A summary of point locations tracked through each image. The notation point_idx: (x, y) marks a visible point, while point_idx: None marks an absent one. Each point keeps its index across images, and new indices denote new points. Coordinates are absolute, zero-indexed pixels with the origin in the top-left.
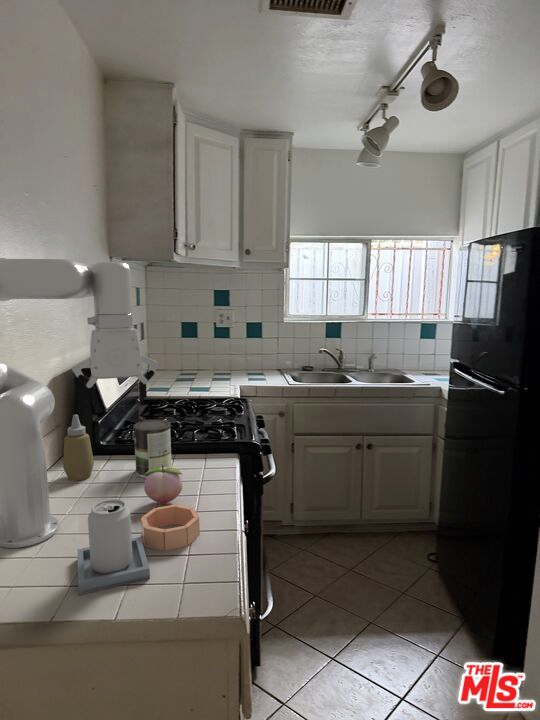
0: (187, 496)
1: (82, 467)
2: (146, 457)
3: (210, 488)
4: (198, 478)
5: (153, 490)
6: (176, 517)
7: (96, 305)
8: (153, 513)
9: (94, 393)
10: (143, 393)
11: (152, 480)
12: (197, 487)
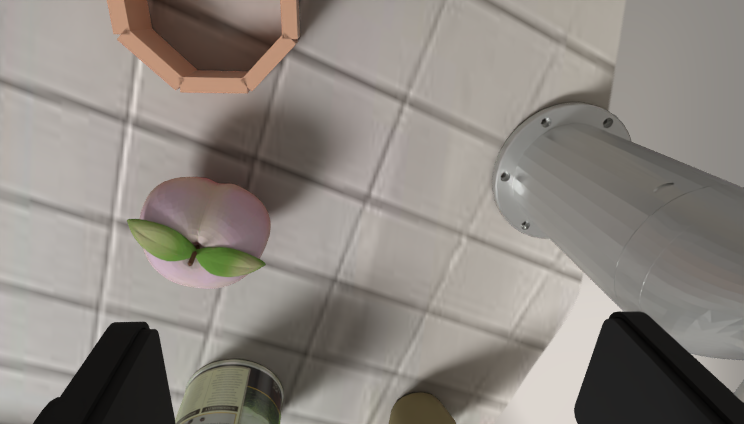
0: None
1: (417, 416)
2: (246, 411)
3: (74, 251)
4: (109, 323)
5: (242, 192)
6: (188, 69)
7: None
8: (256, 63)
9: (729, 418)
10: (58, 402)
11: (238, 216)
12: (115, 270)
